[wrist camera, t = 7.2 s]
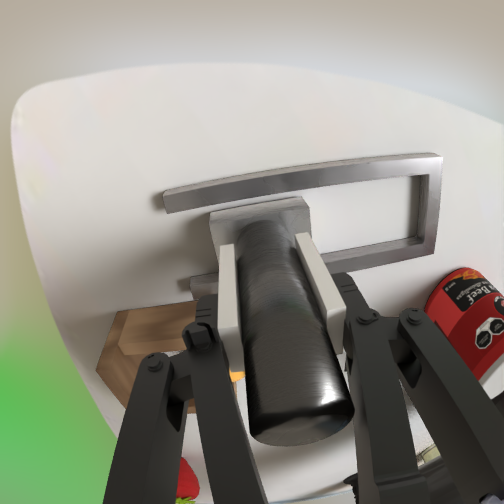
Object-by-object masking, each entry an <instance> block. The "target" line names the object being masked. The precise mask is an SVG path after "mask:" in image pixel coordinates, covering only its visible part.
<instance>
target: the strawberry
mask: <svg viewBox="0 0 504 504" xmlns="http://www.w3.org/2000/svg"><path fill="white" fill-rule="evenodd" d="M199 490H200V487H199V483H198V479H197V477H196V475H195V474H194V472H193V470H192V468H191V467H190V466H189V464H188V463H187V461H186V460H185V459H184V458H181V461H180V469H179V477H178V486H177V494H176V503H178V504H185V503H192V504H194V502H196V501H189V500H192V499H195V498H196V497H197V496H198V495H199Z"/></svg>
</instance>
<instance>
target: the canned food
mask: <svg viewBox="0 0 504 504" xmlns="http://www.w3.org/2000/svg"><path fill="white" fill-rule="evenodd" d="M425 313H426V314H427V315H428V316H429V317H430V319H431V320H432V321H433V322H434V324H435V325H436V326H437V327H438V329H439V330H440V331H441V332H442V334H443V335H444V336H445V337H446V339H447V340H448V341H449V342H450V344H451V345H452V346H453V348H454V349H455V350H456V352H457V353H458V354H459V356H460V357H461V358H462V359H463V361H464V362H465V364H466V365H467V366H468V368H469V369H470V370H471V372H472V373H473V374H474V376H475V377H476V379H477V380H478V381H479V383H480V384H481V386H482V387H483V389H484V390H485V391H486V393H487V394H488V396H489V397H490V399H492V398H494V397H496V396H497V395H499V394H500V393H501V392H503V391H504V297H503V296H502V294H501V293H500V292H499V291H498V290H497V289H496V288H495V287H494V286H493V285H492V284H491V283H490V282H489V281H488V280H487V279H486V278H485V277H484V276H483V275H482V274H481V273H480V272H478V271H476V270H474V269H471V268H462V269H459V270H456V271H454V272H453V273H451V274H450V275H448V276H447V277H446V278H445V279H443V280H442V281H441V282H440V283H439V284H438V286H437V287H436V288H435V289H434V291H433V292H432V294H431V296H430V297H429V299H428V302H427V304H426V307H425Z"/></svg>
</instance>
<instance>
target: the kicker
mask: <svg viewBox="0 0 504 504" xmlns="http://www.w3.org/2000/svg"><path fill="white" fill-rule="evenodd" d="M209 227H210V231H211V235H212V240H213V244H214V248H215V252H216V256H217V260H218V264H219V260H220V246H223V245H229V244H234V248H235V254H236V259H237V266H238V281H239V297H240V312H241V326H242V340H243V354H244V368H245V381H246V394H247V406H248V419H249V431H250V434H251V436H252V437H253V438H254V439H255V440H257V441H259V442H261V443H264V444H267V445H273V446H297V445H304V444H308V443H312V442H316V441H319V440H322V439H324V438H327V437H329V436H331V435H333V434H335V433H337V432H338V431H340V430H341V429H343V428H344V427H345V426H346V425H347V424H348V423H349V422H350V421H351V420H352V418H353V416H354V414H355V407H354V404H353V401H352V398H351V396H350V393H349V390H348V387H347V384H346V381H345V378H344V375H343V373H342V370H341V367H340V364H339V361H338V359H337V356H336V353H335V350H334V348H333V345H332V342H331V339H330V337H329V334H328V331H327V329H326V326H325V323H324V321H323V318H322V315H321V313H320V310H319V307H318V305H317V302H316V299H315V297H314V294H313V292H312V289H311V287H310V284H309V281H308V279H307V276H306V274H305V271H304V269H303V266H302V264H301V261H300V259H299V256H298V254H297V251H296V245H295V234H298V233H305V232H308V233H309V235H310V237H311V239H312V235H311V222H310V210H309V206H308V205H307V203H306V202H305V200H304V199H303V197H296V198H290V199H283V200H277V201H271V202H265V203H259V204H254V205H248V206H242V207H237V208H231V209H226V210H220V211H215V212H211V213H210V221H209Z"/></svg>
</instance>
